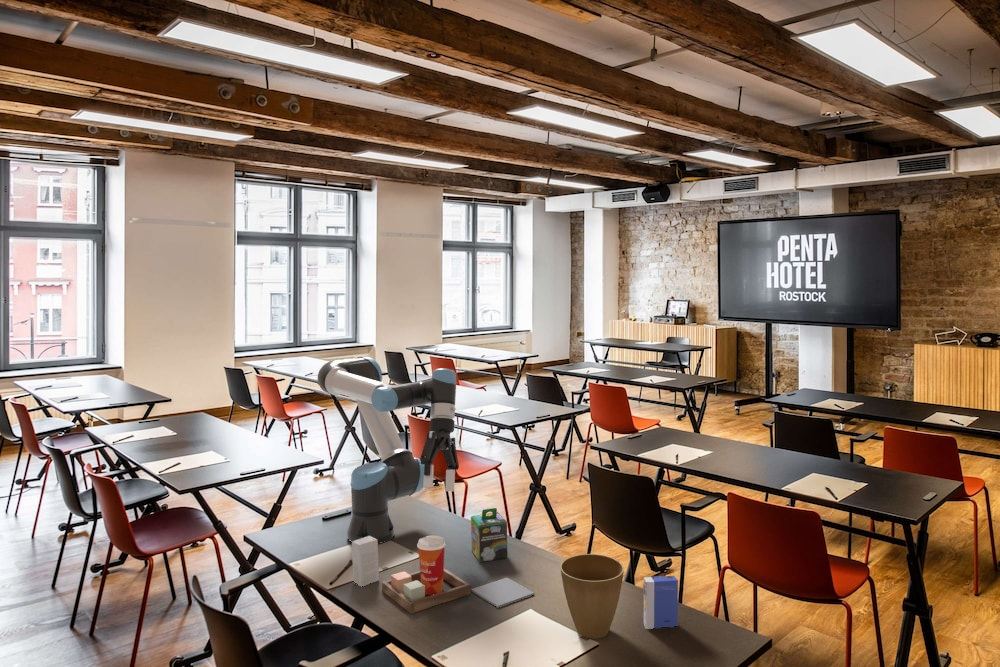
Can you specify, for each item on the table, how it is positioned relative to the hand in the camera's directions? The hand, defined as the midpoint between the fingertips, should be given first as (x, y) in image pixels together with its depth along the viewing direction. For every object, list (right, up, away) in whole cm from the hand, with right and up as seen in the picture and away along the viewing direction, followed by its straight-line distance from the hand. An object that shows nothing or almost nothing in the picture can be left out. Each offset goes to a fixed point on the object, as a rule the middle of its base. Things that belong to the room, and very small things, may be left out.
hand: (439, 489), depth 207 cm
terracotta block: (-8, -23, -21) cm, 32 cm away
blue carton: (+57, -24, -40) cm, 73 cm away
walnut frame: (-2, -23, -21) cm, 31 cm away
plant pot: (+40, -24, -42) cm, 63 cm away
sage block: (-4, -24, -27) cm, 36 cm away
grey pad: (+19, -23, -22) cm, 37 cm away
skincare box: (-19, -23, -14) cm, 33 cm away
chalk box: (+15, -21, +4) cm, 26 cm away
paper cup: (0, -23, -19) cm, 30 cm away
